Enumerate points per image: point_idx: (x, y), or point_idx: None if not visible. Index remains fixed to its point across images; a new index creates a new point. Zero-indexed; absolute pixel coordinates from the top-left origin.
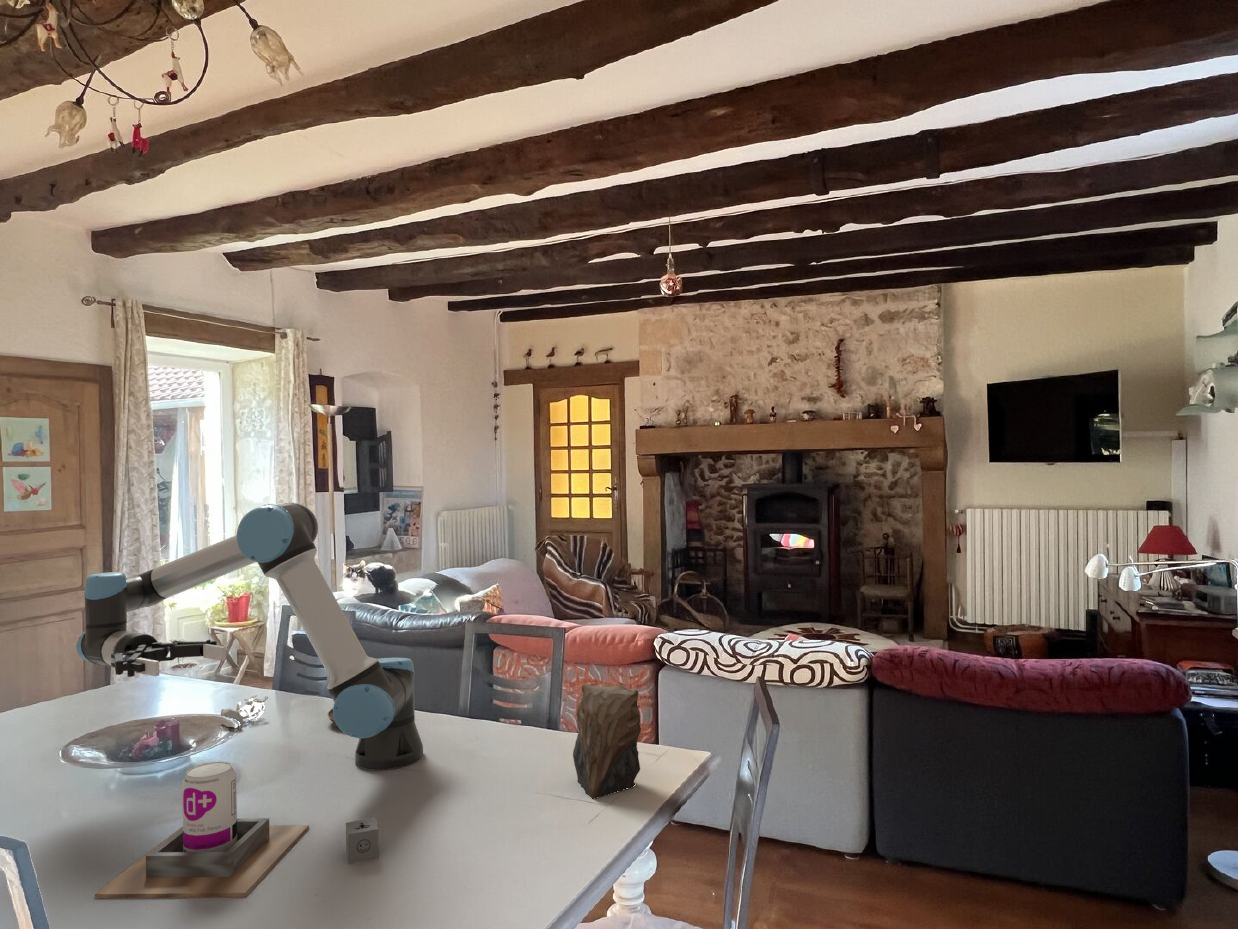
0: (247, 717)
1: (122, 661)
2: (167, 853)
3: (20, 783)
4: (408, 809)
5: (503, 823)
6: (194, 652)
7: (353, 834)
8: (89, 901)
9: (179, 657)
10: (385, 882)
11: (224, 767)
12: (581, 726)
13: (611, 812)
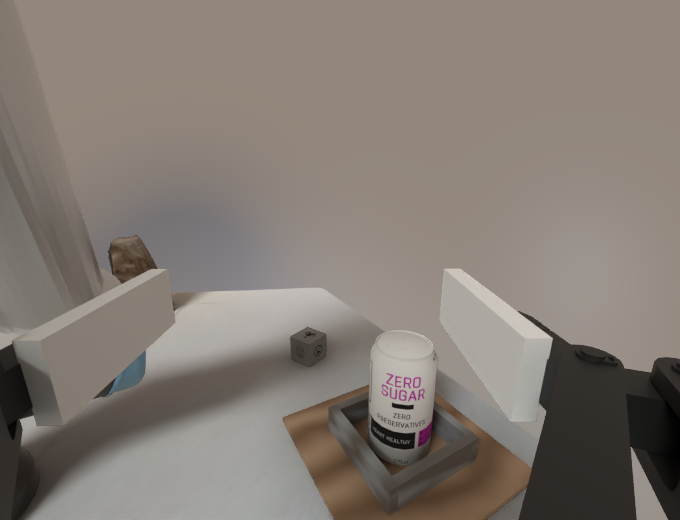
0: None
1: (655, 362)
2: (454, 423)
3: None
4: (209, 378)
5: (226, 325)
6: (5, 457)
7: (322, 333)
8: None
9: None
10: (333, 331)
11: (386, 339)
12: (133, 274)
13: (198, 301)
